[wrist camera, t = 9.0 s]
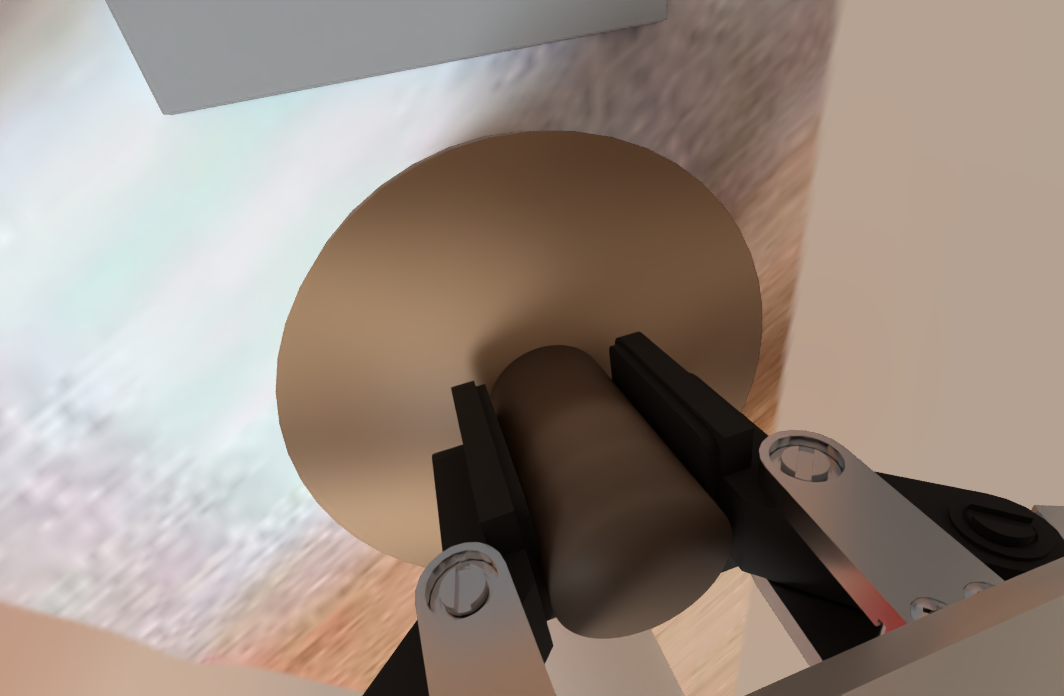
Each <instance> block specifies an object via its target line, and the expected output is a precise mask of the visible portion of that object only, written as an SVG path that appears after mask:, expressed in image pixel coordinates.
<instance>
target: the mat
mask: <svg viewBox="0 0 1064 696" xmlns="http://www.w3.org/2000/svg"><path fill="white" fill-rule="evenodd" d="M105 1H106V3H107V5H108V7H109V9H110V11H111V13H112V15H113V17H114V19H115V21H116V23H117V24H118V26H119V28H120V30H121V32H122V34H123V36H124V38H125V40H126V42H127V44H128V46H129V48H130V50H131V52H132V54H133V56H134V58H135V60H136V62H137V64H138V66H139V68H140V70H141V72H142V74H143V76H144V78H145V80H146V82H147V84H148V86H149V88H150V90H151V92H152V93H153V95H154V97H155V99H156V101H157V103H158V105H159V107H160V109H161V111H162V113H163V114H164V115H174V114H179V113H184V112H189V111H195V110H200V109H205V108H210V107H216V106H221V105H226V104H231V103H237V102H242V101H247V100H252V99H258V98H263V97H268V96H273V95H279V94H284V93H289V92H294V91H300V90H305V89H310V88H315V87H321V86H326V85H331V84H336V83H342V82H347V81H352V80H357V79H363V78H368V77H373V76H378V75H384V74H389V73H394V72H399V71H405V70H410V69H415V68H420V67H426V66H431V65H436V64H441V63H447V62H452V61H457V60H462V59H468V58H473V57H478V56H483V55H489V54H494V53H499V52H504V51H510V50H515V49H520V48H525V47H531V46H536V45H541V44H547V43H552V42H557V41H562V40H568V39H573V38H578V37H583V36H589V35H594V34H599V33H604V32H610V31H615V30H620V29H625V28H631V27H636V26H641V25H646V24H652V23H657V22H660V21H663V20H665V19H667V5H666V0H105Z"/></svg>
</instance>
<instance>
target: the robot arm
mask: <svg viewBox="0 0 1064 696" xmlns="http://www.w3.org/2000/svg"><path fill="white" fill-rule="evenodd" d="M609 356H610V365H611V374H612V381H613V382H614V383H615V384H616V385H617V387H618V388H619V389H620V390H621V391H622V392H623V394H624V395H625V396H626V397H627V398H628V400H629V401H630V402H631V403H632V404H633V406H634V407H635V408H636V409H637V410H638V411H639V413H640V414H641V415H642V416H643V417H644V419H645V420H646V421H647V422H648V423H649V425H650V426H651V427H652V428H653V429H654V430H655V432H656V433H657V434H658V435H659V436H660V438H661V439H662V440H663V441H664V442H665V444H666V445H667V446H668V447H669V448H670V449H671V451H672V452H673V453H674V454H675V455H676V457H677V458H678V459H679V460H680V461H681V462H682V464H683V465H684V466H685V467H686V468H687V470H688V471H689V472H690V473H691V474H692V476H693V477H694V478H695V479H696V480H697V481H698V483H699V484H700V485H701V486H702V487H703V489H704V490H705V491H706V492H707V493H708V495H709V496H710V497H711V498H712V499H713V500H714V502H715V503H716V504H717V505H718V506H719V508H720V509H721V510H722V511H723V512H724V514H725V515H726V516H727V518H728V520H729V522H730V525H731V528H732V538H733V539H732V547H731V551H730V555H729V557H728V560H727V562H726V564H725V566H724V568H723V570H722V572H724V571H727V570H729V569H732V568H734V567H737V566H739V568H740V569H741V570H742V571H744V572H747V573H750V574H751V575H752V578H753V580H754V582H755V584H756V586H757V587H758V589H759V590H760V592H761V593H762V595H763V596H764V598H765V599H766V601H767V602H768V604H769V605H770V607H771V608H772V610H773V611H774V613H775V615H776V616H777V617H778V619H779V621H780V622H781V624H782V625H783V627H784V628H785V630H786V631H787V633H788V634H789V636H790V637H791V639H792V640H793V642H794V643H795V645H796V646H797V648H798V649H799V651H800V652H801V654H802V655H803V657H804V659H805V660H806V662H807V663H808V665H809V666H810V667H808V668H806V669H804V670H802V671H799V672H797V673H795V674H793V675H790V676H788V677H786V678H784V679H781V680H779V681H777V682H775V683H772V684H770V685H768V686H766V687H763V688H761V689H759V690H757V691H754V692H752V693H750V694H748V695H745V696H1064V506H1043V505H1041V506H1040V505H1034V506H1033V508H1032V510H1029V509H1028V508H1026V507H1024V506H1021V505H1019V504H1017V503H1014V502H1012V501H1010V500H1007V499H1004V498H1001V497H997V496H994V495H990V494H986V493H981V492H976V491H970V490H965V489H960V488H955V487H950V486H945V485H940V484H935V483H930V482H925V481H920V480H915V479H909V478H904V477H899V476H894V475H889V474H884V473H879V472H874V471H873V470H871V469H870V468H869V467H868V466H867V465H865V464H864V463H863V462H862V461H861V460H860V459H858V458H857V457H856V456H855V455H854V454H852V453H851V452H850V451H849V450H848V449H846V448H845V447H844V446H842V445H841V444H839V443H838V442H836V441H835V440H833V439H831V438H828V437H826V436H824V435H821V434H818V433H814V432H809V431H802V430H801V431H800V430H788V431H781V432H777V433H775V434H772V435H770V436H768V435H767V434H766V433H764V432H763V431H762V430H761V429H760V428H758V427H757V426H756V425H755V424H754V423H752V422H751V421H750V420H749V419H748V418H746V417H745V416H744V415H743V414H742V413H740V412H739V411H738V410H737V409H736V408H735V407H733V406H732V405H731V404H730V403H729V402H727V401H726V400H725V399H724V398H723V397H721V396H720V395H719V394H718V393H717V392H715V391H714V390H713V389H712V388H711V387H709V386H708V385H707V384H706V383H705V382H704V381H702V380H701V379H700V378H699V377H698V376H696V375H694V374H693V373H689V372H687V371H686V370H685V369H684V368H683V367H681V366H680V365H679V364H678V363H677V362H676V361H674V360H673V359H672V358H671V357H670V356H669V355H667V354H666V353H665V352H664V351H663V350H662V349H660V348H659V347H658V346H657V345H656V344H654V343H653V342H652V341H651V340H650V339H649V338H647V337H646V336H645V335H644V334H643V333H641V332H640V331H639V332H635V333H631V334H628V335H624V336H621V337H618V338H616V339H615V345H612V346H610V347H609ZM451 391H452V396H453V400H454V405H455V410H456V414H457V419H458V424H459V428H460V433H461V438H462V442H463V444H462V445H459V446H456V447H453V448H450V449H447V450H443V451H440V452H437V453H434V454H432V463H433V472H434V481H435V490H436V499H437V508H438V517H439V525H440V534H441V543H442V553H440V554H439V555H438V556H436V557H435V558H434V559H433V560H432V561H431V562H430V563H429V564H428V565H427V567H426V568H425V570H424V571H423V573H422V574H421V576H420V578H419V581H418V584H417V587H416V590H415V606H416V613H417V619H418V620H417V621H416V622H415V624H414V625H413V627H412V628H411V629H410V631H409V632H408V633H407V635H406V636H405V638H404V639H403V640H402V642H401V643H400V645H399V646H398V647H397V649H396V650H395V651H394V653H393V654H392V656H391V657H390V658H389V660H388V661H387V663H386V664H385V665H384V667H383V668H382V669H381V671H380V672H379V674H378V675H377V676H376V678H375V679H374V681H373V682H372V683H371V685H370V686H369V687H368V689H367V690H366V692H365V693H364V694H363V696H556V693H555V691H554V688H553V686H552V683H551V680H550V678H549V675H548V672H547V670H546V667H545V663H546V661H547V659H548V657H549V654H550V652H551V650H552V648H553V642H552V638H551V635H550V631H549V628H548V624H547V621H548V620H551V619H554V618H556V616H555V614H554V611H553V609H552V606H551V603H550V599H549V596H548V593H547V590H546V587H545V584H544V581H543V578H542V574H541V569H540V558H541V555H540V551H539V547H538V543H537V539H536V535H535V532H534V528H533V524H532V520H531V516H530V513H529V510H528V506H527V503H526V500H525V497H524V494H523V491H522V488H521V485H520V482H519V479H518V476H517V474H516V471H515V468H514V465H513V462H512V459H511V456H510V453H509V451H508V448H507V445H506V442H505V439H504V436H503V433H502V431H501V428H500V425H499V422H498V419H497V416H496V413H495V410H494V408H493V405H492V402H491V399H490V396H489V393H488V390H487V388H486V385H485V384H482V385H479V386H476V385H475V382H474V381H470V382H467V383H464V384H460V385H457V386H454V387H451ZM722 572H721V573H722Z"/></svg>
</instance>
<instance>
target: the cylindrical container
mask: <svg viewBox="0 0 1064 696" xmlns="http://www.w3.org/2000/svg"><path fill="white" fill-rule="evenodd" d="M547 624H548V628H549V631H550V635H551V638H552V642H553V648H552V650H551V652H550V654H549V657H548V659H547V661H546V663H545V667H546V670H547V672H548V675H549V678H550V680H551V683H552V686H553V688H554V691H555V693H556V696H685V695H684V693H683V691H682V690H681V688H680V686H679V684H678V682H677V680H676V678H675V676H674V674H673V672H672V670H671V668H670V666H669V664H668V662H667V660H666V658H665V656H664V654H663V652H662V650H661V648H660V646H659V644H658V642H657V640H656V638H655V636H654V634H653V632H652V630H651V629H649V630H646V631H643V632H641V633H637V634H633V635H630V636H625V637H620V638H611V639H596V638H588V637H584V636H580V635H578V634H575V633H573V632H571V631H569V630H568V629H566V628H565V627H564V626H563V625H562V624H561V623H560V622H559V621H558V619H557V618H554V619H551V620H548V621H547Z"/></svg>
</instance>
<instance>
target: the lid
mask: <svg viewBox="0 0 1064 696" xmlns="http://www.w3.org/2000/svg"><path fill="white" fill-rule="evenodd" d="M639 331H640V332H641V333H643V334H644V335H645V336H646V337H647V338H649V339H650V340H651V341H652V342H653V343H654V344H656V345H657V346H658V347H659V348H660V349H662V350H663V351H664V352H665V353H666V354H667V355H669V356H670V357H671V358H672V359H673V360H674V361H676V362H677V363H678V364H679V365H680V366H681V367H683V368H684V369H685V370H686V371H687V372H689V373H693V374H694V375H696V376H698V377H699V378H700V379H701V380H702V381H704V382H705V383H706V384H707V385H708V386H709V387H711V388H712V389H713V390H714V391H715V392H717V393H718V394H719V395H720V396H721V397H723V398H724V399H725V400H726V401H727V402H729V403H730V404H731V405H732V406H733V407H735V408H736V409H737V410H738V411H739V412H740V413H741V411H742V409H743V407H744V405H745V402H746V399H747V396H748V394H749V391H750V388H751V386H752V383H753V379H754V375H755V371H756V367H757V363H758V359H759V354H760V346H761V338H762V301H761V294H760V287H759V280H758V276H757V273H756V269H755V266H754V262H753V259H752V256H751V253H750V251H749V248H748V246H747V244H746V242H745V240H744V238H743V236H742V234H741V231H740V229H739V227H738V226H737V225H736V223H735V222H734V220H733V219H732V217H731V216H730V214H729V213H728V211H727V210H726V208H725V207H724V206H723V204H722V203H721V202H720V201H719V200H718V199H717V198H716V197H715V196H714V195H713V194H712V193H711V192H710V191H709V190H708V189H707V187H706V186H705V185H704V184H703V183H702V182H700V181H699V180H698V179H696V178H695V177H694V176H692V175H691V174H690V173H688V172H687V171H686V170H684V169H683V168H682V167H680V166H679V165H677V164H676V163H674V162H672V161H670V160H668V159H666V158H664V157H662V156H661V155H659V154H657V153H655V152H653V151H651V150H649V149H647V148H644V147H641V146H638V145H635V144H632V143H629V142H625V141H622V140H619V139H616V138H613V137H607V136H601V135H594V134H588V133H581V132H574V131H517V132H510V133H504V134H497V135H491V136H485V137H481V138H478V139H475V140H471V141H468V142H465V143H462V144H458V145H455V146H452V147H449V148H446V149H444V150H442V151H440V152H438V153H436V154H434V155H432V156H429V157H427V158H425V159H423V160H421V161H419V162H417V163H415V164H413V165H411V166H410V167H408V168H407V169H405V170H404V171H402V172H401V173H399V174H398V175H396V176H395V177H393V178H392V179H390V180H389V181H387V182H386V183H384V184H382V185H381V186H380V187H379V188H377V189H376V190H375V191H374V192H373V193H372V194H371V195H370V196H369V197H367V198H366V199H365V200H364V201H363V202H362V203H361V204H360V205H358V206H357V207H356V208H355V209H354V210H353V211H352V212H351V213H350V214H349V215H348V217H347V218H346V219H345V220H344V221H343V223H342V224H341V225H340V226H339V227H338V229H337V230H336V231H335V232H334V233H333V235H332V236H331V237H330V238H329V240H328V241H327V242H326V244H325V246H324V247H323V249H322V251H321V252H320V254H319V256H318V257H317V259H316V261H315V262H314V264H313V266H312V267H311V269H310V271H309V272H308V274H307V276H306V278H305V279H304V281H303V283H302V285H301V286H300V288H299V291H298V293H297V296H296V298H295V301H294V303H293V306H292V308H291V311H290V313H289V316H288V318H287V321H286V323H285V328H284V332H283V337H282V341H281V346H280V350H279V354H278V362H277V380H276V398H277V406H278V415H279V424H280V427H281V431H282V434H283V438H284V441H285V444H286V448H287V451H288V454H289V456H290V458H291V460H292V462H293V464H294V466H295V468H296V471H297V473H298V475H299V477H300V479H301V480H302V482H303V483H304V485H305V486H306V488H307V489H308V490H309V492H310V493H311V495H312V496H313V497H314V499H315V500H316V502H317V503H318V504H319V505H320V506H321V507H322V508H323V509H324V510H325V511H326V512H327V513H328V514H329V515H330V516H331V517H332V518H333V519H334V520H335V521H336V523H338V524H339V525H340V526H342V527H343V528H344V529H346V530H347V531H348V532H350V533H351V534H352V535H353V536H355V537H356V538H357V539H359V540H361V541H362V542H364V543H366V544H368V545H370V546H371V547H373V548H375V549H377V550H378V551H380V552H382V553H385V554H387V555H389V556H392V557H394V558H397V559H399V560H402V561H404V562H407V563H411V564H414V565H418V566H422V567H425V568H426V567H427V565H428V564H429V563H430V562H431V561H432V560H433V559H434V558H435V557H436V556H438V555H439V554H440V553H442V543H441V534H440V525H439V517H438V508H437V499H436V490H435V481H434V472H433V463H432V454H434V453H437V452H440V451H443V450H447V449H450V448H453V447H456V446H459V445H462V444H463V442H462V438H461V433H460V428H459V424H458V419H457V414H456V410H455V405H454V400H453V396H452V391H451V387H454V386H457V385H460V384H464V383H467V382H470V381H474V382H475V385H476V386H479V385H482V384H485V385H486V388H487V390H488V393H489V396H490V399H491V402H492V405H493V408H494V410H495V413H496V416H497V419H498V422H499V425H500V428H501V431H502V433H503V436H504V439H505V442H506V445H507V448H508V451H509V453H510V456H511V459H512V462H513V465H514V468H515V471H516V474H517V476H518V479H519V482H520V485H521V488H522V491H523V494H524V497H525V500H526V503H527V506H528V510H529V513H530V516H531V520H532V524H533V528H534V532H535V535H536V539H537V543H538V547H539V551H540V555H541V558H540V569H541V574H542V578H543V581H544V584H545V587H546V590H547V593H548V596H549V599H550V603H551V606H552V609H553V611H554V614H555V616H556V618H557V619H558V621H559V622H560V623H561V624H562V625H563V626H564V627H565V628H566V629H568V630H569V631H571V632H573V633H575V634H578V635H580V636H584V637H588V638H596V639H611V638H620V637H625V636H630V635H633V634H637V633H641V632H643V631H646V630H649V629H651V628H654V627H656V626H658V625H660V624H662V623H664V622H666V621H668V620H670V619H672V618H673V617H675V616H676V615H678V614H680V613H681V612H683V611H684V610H685V609H687V608H688V607H689V606H691V605H692V604H693V603H694V602H695V601H697V600H698V599H699V598H700V597H701V596H702V595H703V594H704V593H705V592H706V591H707V590H708V589H709V588H710V587H711V585H712V584H713V583H714V582H715V580H716V579H717V578H718V576H719V575H720V573H721V572H722V570H723V568H724V566H725V564H726V562H727V560H728V557H729V555H730V551H731V547H732V539H733V538H732V528H731V525H730V522H729V520H728V518H727V516H726V515H725V514H724V512H723V511H722V510H721V509H720V508H719V506H718V505H717V504H716V503H715V502H714V500H713V499H712V498H711V497H710V496H709V495H708V493H707V492H706V491H705V490H704V489H703V487H702V486H701V485H700V484H699V483H698V481H697V480H696V479H695V478H694V477H693V476H692V474H691V473H690V472H689V471H688V470H687V468H686V467H685V466H684V465H683V464H682V462H681V461H680V460H679V459H678V458H677V457H676V455H675V454H674V453H673V452H672V451H671V449H670V448H669V447H668V446H667V445H666V444H665V442H664V441H663V440H662V439H661V438H660V436H659V435H658V434H657V433H656V432H655V430H654V429H653V428H652V427H651V426H650V425H649V423H648V422H647V421H646V420H645V419H644V417H643V416H642V415H641V414H640V413H639V411H638V410H637V409H636V408H635V407H634V406H633V404H632V403H631V402H630V401H629V400H628V398H627V397H626V396H625V395H624V394H623V392H622V391H621V390H620V389H619V388H618V387H617V385H616V384H615V383H614V382H613V381H612V374H611V365H610V356H609V347H610V346H612V345H615V339H616V338H618V337H621V336H624V335H628V334H631V333H635V332H639Z"/></svg>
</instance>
